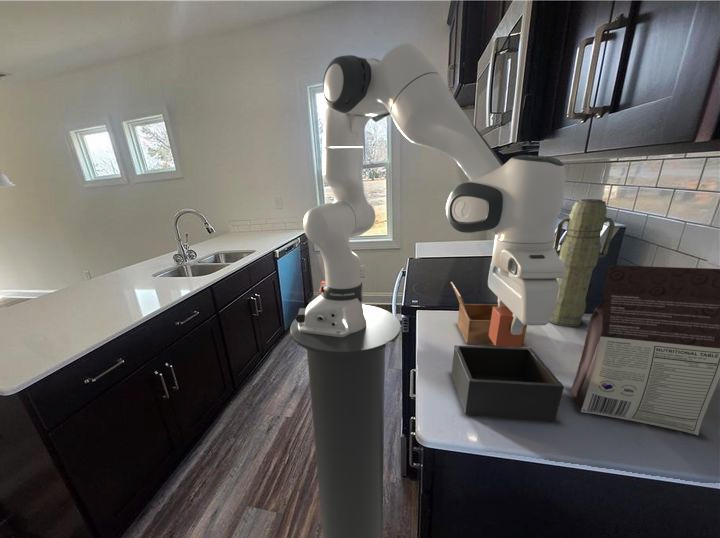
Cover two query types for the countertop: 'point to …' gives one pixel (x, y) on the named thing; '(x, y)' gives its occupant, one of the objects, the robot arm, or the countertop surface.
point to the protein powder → (653, 347)
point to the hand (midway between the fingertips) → (509, 326)
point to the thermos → (579, 258)
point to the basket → (505, 383)
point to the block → (503, 328)
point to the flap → (460, 300)
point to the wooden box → (478, 323)
